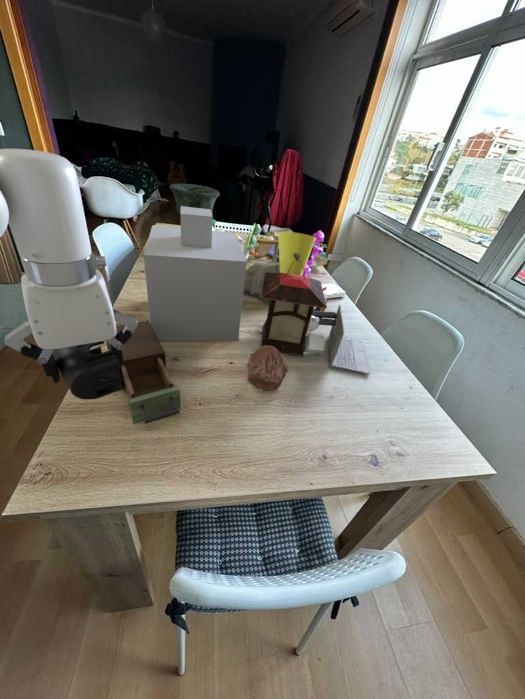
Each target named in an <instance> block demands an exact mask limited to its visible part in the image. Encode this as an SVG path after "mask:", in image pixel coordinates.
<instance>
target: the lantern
mask: <svg viewBox="0 0 525 699" xmlns="http://www.w3.org/2000/svg"><path fill="white" fill-rule="evenodd" d="M314 244H315V242H314ZM313 248H314V245H313ZM313 248H312V250H311V253H310V255H309V258H308V260H311V256H312V252H313ZM278 255H279V249H278ZM294 257H295V259H296V261H298V262H299V261H300V260H299V258H300V255H299V254H296V253H294ZM294 262H295V261H294ZM294 262H293V263H294ZM300 262H301V261H300ZM293 263H292V264H293ZM301 264H302V263H301ZM291 266H292V265H291ZM291 266H290V268H291ZM302 267H303V265H302ZM290 268H289V269H290ZM288 271H289V270H288ZM303 271H304V268H303ZM287 273H288V272H287ZM321 284H322V282H321V281H320V280H317V279H315V278H311V277H309V276H306V277H305V274H304V276H298V275H292V274H286V273H270V272H265V273H264V280H263V287H262V293H261V298H265V299H270V303H269V305H268V310H267V315H266V320H265V322H264V323H263V325H262V331H261V340H260V347H261V346H263V345H267V346H268V345H270V346H273V347H275V348H276V349H277V350H278V351H279V352H280V353H281V354H286V355H294V356H300V357H304V351H303V350H304V349H303V344H304V340H305V337H306V335H307V333H308V326H309V323H310V319H311V316H312V312H313V308H314V307H320V308H325V309H328V306H327V305H326V301H325V297H324V293H323V289H322V285H321Z"/></svg>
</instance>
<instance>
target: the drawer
mask: <svg viewBox="0 0 525 699" xmlns="http://www.w3.org/2000/svg"><path fill="white" fill-rule="evenodd" d="M120 367H121V373H122V378H123V382H124V385H125V390H126V394H127V397H128V405H129V410H130V416H131V421H132V424H133V425H134V426H135V425H137V424H140V423H143V422H144V424H145V425H148V424H151V423H154V422H157V421H160V420H164V419H166V418H170V417H173V416H175V415H179V414H181V408H182V406H181V388H180V386H179V385H175V386H174V382H173V379H172V378H171V376H170V373H169V371H168V370H167V367H166V368H165V366H164V364H163V362H162V360H161V358H160V356H156V357H152V358H147V359H142V360H138V361H133V362H129V363H124V364H120Z"/></svg>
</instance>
